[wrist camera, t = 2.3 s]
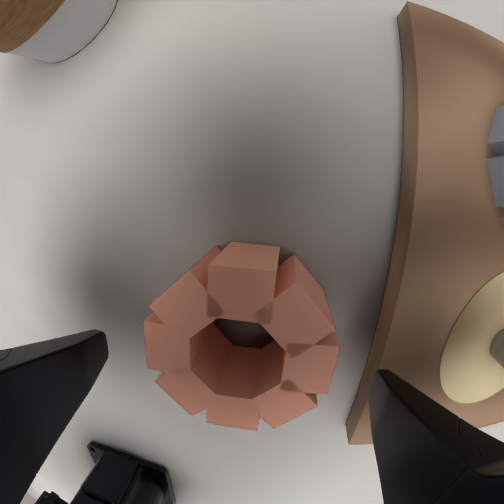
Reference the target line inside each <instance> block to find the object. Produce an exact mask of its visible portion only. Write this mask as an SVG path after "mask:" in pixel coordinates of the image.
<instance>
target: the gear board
mask: <svg viewBox="0 0 504 504" xmlns="http://www.w3.org/2000/svg"><path fill="white" fill-rule="evenodd" d="M397 18H398V26H399V34H400V44H401V55H402V69H403V91H404V137H403V160H402V175H401V187H400V198H399V207H398V216H397V224H396V231H395V238H394V244H393V251H392V257H391V262H390V268H389V273H388V279H387V284H386V288H385V293H384V298H383V302H382V307H381V311H380V315H379V319H378V323H377V327H376V331H375V335H374V339H373V343H372V346H371V350H370V353H369V357H368V360H367V364H366V367H365V370H364V373H363V376H362V380H361V383H360V386H359V389H358V392H357V395H356V398H355V400H354V403H353V406H352V409H351V412H350V414H349V417H348V420H347V422H346V431H347V437H348V443H349V445H356V444H373V440H372V434H371V424H370V413H369V402H368V390H369V387H370V384H371V381H372V378H373V375H374V373H375V371H376V370H377V369H388V370H390V371H391V372H393V373H394V374H396V375H397V376H399V377H400V378H402V379H403V380H405V381H406V382H408V383H409V384H411V385H412V386H414V387H415V388H417V389H418V390H419V391H421V392H422V393H424V394H425V395H427V396H428V397H430V398H431V399H433V400H434V401H436V402H437V403H439V404H440V405H442V406H443V407H445V408H446V409H448V410H449V411H451V412H452V413H454V414H456V415H457V416H459V419H460V418H462V419H463V420H465V421H466V422H468V423H469V424H471V425H473V426H474V427H476V428H481V427H485V426H489V425H492V424H496V423H499V422H503V421H504V221H503V220H502V219H501V218H502V215H503V213H504V208H503V207H497V206H495V200H494V194H493V189H492V183H491V178H490V174H489V169H488V165H487V160H486V159H487V158H491V157H496V156H498V155H497V154H496V153H495V152H494V151H493V150H492V149H491V148H490V147H489V146H488V145H487V144H486V143H487V140H488V137H489V133H490V130H491V127H492V123H493V120H494V116H495V112H496V109H497V108H499V107H502V106H504V105H503V102H504V43H503V42H501V41H499V40H498V39H496V38H494V37H492V36H490V35H488V34H486V33H484V32H483V31H481V30H479V29H477V28H474V27H472V26H470V25H468V24H466V23H464V22H462V21H459V20H457V19H455V18H452V17H450V16H447V15H445V14H442V13H440V12H437V11H435V10H432V9H429V8H426V7H424V6H421V5H418V4H415V3H411V2H408V1H407V3H406V4H405V6H404V7H403V9H402V11H401V12H400V14H399V15H398V17H397Z"/></svg>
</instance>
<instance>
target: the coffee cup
mask: <svg viewBox="0 0 504 504" xmlns="http://www.w3.org/2000/svg"><path fill="white" fill-rule="evenodd" d="M116 2H117V0H0V52H3V53H6V52H7V53H11V54H16V55H20V56H24V57H28V58H32V59H36V60H41V61H45V62H50V63H55V62H60V61H63V60H66V59H67V58H69V57H71V56H73V55H74V54H76V53H77V52H79V51H80V50H82V49H83V48H84V47H85V46H86V45H87V44H88V43H90V42H91V40H92V39H93V38H94V37H95V36H96V35H97V34H98V33H99V32H100V30H101V29H102V28H103V27H104V25H105V24H106V22H107V21H108V19H109V18H110V16H111V14H112V12H113V10H114V8H115V5H116Z"/></svg>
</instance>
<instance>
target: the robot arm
mask: <svg viewBox="0 0 504 504" xmlns="http://www.w3.org/2000/svg"><path fill="white" fill-rule="evenodd" d="M108 354H109V352H108V345H107V339H106V335H105V333H104V332H103V331H99V330H95V329H94V330H89V331H85V332H81V333H77V334H73V335H68V336H64V337H60V338H55V339H51V340H47V341H42V342H38V343H33V344H29V345H24V346H19V347H14V348H10V349H5V350H0V504H20V502H21V501H22V499H23V497H24V495H25V494H26V492H27V490H28V488H29V487H30V485H31V483H32V481H33V480H34V478H35V476H36V474H37V473H38V471H39V469H40V468H41V466H42V464H43V463H44V461H45V459H46V458H47V456H48V455H49V453H50V451H51V450H52V448H53V447H54V445H55V443H56V442H57V440H58V439H59V437H60V436H61V434H62V432H63V431H64V429H65V428H66V426H67V425H68V423H69V422H70V420H71V419H72V417H73V415H74V414H75V412H76V411H77V409H78V408H79V406H80V405H81V403H82V402H83V400H84V399H85V398H86V396H87V395H88V393H89V391H90V390H91V388H92V386H93V385H94V383H95V381H96V379H97V377H98V375H99V373H100V372H101V370H102V368H103V366H104V364H105V362H106V360H107V358H108ZM368 402H369V413H370V424H371V434H372V440H373V445H374V450H375V455H376V460H377V465H378V471H379V476H380V482H381V488H382V494H383V501H384V504H504V443H503V442H501V441H499V440H498V439H496V438H494V437H492V436H490V435H488V434H486V433H484V432H483V431H481V430H479V429H477V428H476V427H474V426H473V425H471V424H469V423H468V422H466V421H465V420H463V419H462V418H460V419H459V416H457V415H456V414H454V413H452V412H451V411H449V410H448V409H446V408H445V407H443V406H442V405H440V404H439V403H437V402H436V401H434V400H433V399H431V398H430V397H428V396H427V395H425V394H424V393H422V392H421V391H419V390H418V389H417V388H415V387H414V386H412V385H411V384H409V383H408V382H406V381H405V380H403V379H402V378H400V377H399V376H397V375H396V374H394V373H393V372H391V371H390V370H388V369H377V370H376V371H375V373H374V375H373V378H372V381H371V384H370V387H369V390H368ZM87 447H88V450H89V452H90V454H91V456H92V458H93V460H94V462H95V465H94V467H93V468H92V470H91V471H90V473H89V474H88V476H87V477H86V479H85V480H84V482H83V483H82V485H81V488H80V489H79V491H78V492H77V494H76V495H75V497H74V498H73V500H72V501H71V503H70V504H176V503H175V499H174V496H173V492H172V488H171V484H170V480H169V476H168V472H167V470H166V469H164V468H163V467H160V466H157V465H154V464H150V463H147V462H144V461H141V460H138V459H135V458H132V457H129V456H127V455H124V454H121V453H118V452H116V451H113V450H111V449H108V448H106V447H103V446H101V445H98V444H96V443H94V442H90V443H89V444H88V445H87ZM35 504H68V503H67V502H65V501H64V500H62V499H61V498H60V497H59V496H58V495H57V494H56V493H54V492H53V491H52V492H51V493H48V492H46V491H44V492H43V493H42V495H41V496H40V497H39V499H38V500H37V501H36V503H35Z"/></svg>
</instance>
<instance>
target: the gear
mask: <svg viewBox="0 0 504 504" xmlns="http://www.w3.org/2000/svg"><path fill="white" fill-rule="evenodd" d="M279 253H280V246H273V245H263V244H253V243H242V242H232V241H231V242H230V243H229V244H228V245H227V246H226V247H225V248H224V249H223V250H222V251H221V250H220V249H219V248H218V247H217V246H216V247H215V248H214V249H213V250H212V251H210V252H209V253H208V254H207V255H206V256H205V257H203V258H202V259H201V260H200V261H199V262H198V263H196V264H195V265H194V266H193V267H192V268H191V269H190V270H188V271H187V272H186V273H185V274H184V275H183V276H182V277H180V278H179V279H178V280H177V281H176V282H175V283H174V284H173V285H171V286H170V287H169V288H168V289H167V290H166V291H165V292H164V293H162V294H161V295H160V296H159V297H158V298H157V299H156V300H155V301H154V302H152V303H151V304H150V305H149V307H150V308H151V310H152V311H153V312H152V313H151V314H150V315H149V316H148V317H147V318H146V319H144V320H143V327H144V338H145V348H146V358H147V366H148V368H149V369H153V370H158V371H162V372H161V374H160V375H159V377H158V378H157V380H156V381H155V382H156V383H157V384H158V385H159V386H160V387H161V388H162V389H163V390H164V391H165V392H166V393H167V394H168V395H169V396H171V397H172V398H173V399H174V400H175V401H176V402H177V403H178V404H179V405H180V406H181V407H183V408H184V409H185V410H186V411H187V412H188V413H189V414H191V415H194V414H196V413H198V412H200V411H202V410H204V409H206V408H207V423H211V424H216V425H222V426H228V427H234V428H241V429H248V430H256V431H257V430H258V424H259V417H261V418H262V419H263V420H264V421H265V422H267V423H268V424H269V425H270V426H271V427H273V428H275V427H277V426H279V425H281V424H284V423H286V422H288V421H290V420H292V419H294V418H295V417H297V416H299V415H301V414H303V413H305V412H307V411H309V410H311V409H312V408H314V407H316V406H317V397H316V393H317V394H328V390H329V387H330V383H331V379H332V376H333V372H334V368H335V364H336V360H337V356H338V352H339V348H340V346H339V342H338V339H337V335H336V332H335V330H336V329H335V325H334V322H333V319H332V315H331V312H330V309H329V305H328V302H327V299H326V296H325V293H324V290H323V288H322V287H321V286H320V285H319V283H318V282H317V281H316V280H315V278H314V277H313V276H312V275H311V274H310V272H309V271H308V270H307V269H306V267H305V266H304V265H303V264H302V263H301V261H300V260H299V259H298V258H297V256H296V255H295V254H293V255H292V256H291V257H289V258H288V259H287V260H286V261H284V262H283V263H282V264H281V265H279V266H278V263H279ZM217 318H223V319H230V320H238V321H246V322H254V323H260V324H261V325H262V326H263V327H264V329H265V330H266V331H267V332H268V333H269V334H270V335H271V336H272V337H273V338H274V339H275V340H274V341H272V342H271V343H269V344H268V345H266V346H265V347H263V348H262V349H260V348H251V347H243V346H236V345H233V344H232V343H231V342H230V341H229V340H228V339H227V338H226V337H225V336H224V335H223V334H222V333H221V332H220V331H219V330H218V328H217V327H216V326H215V325H214V320H215V319H217Z"/></svg>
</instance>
